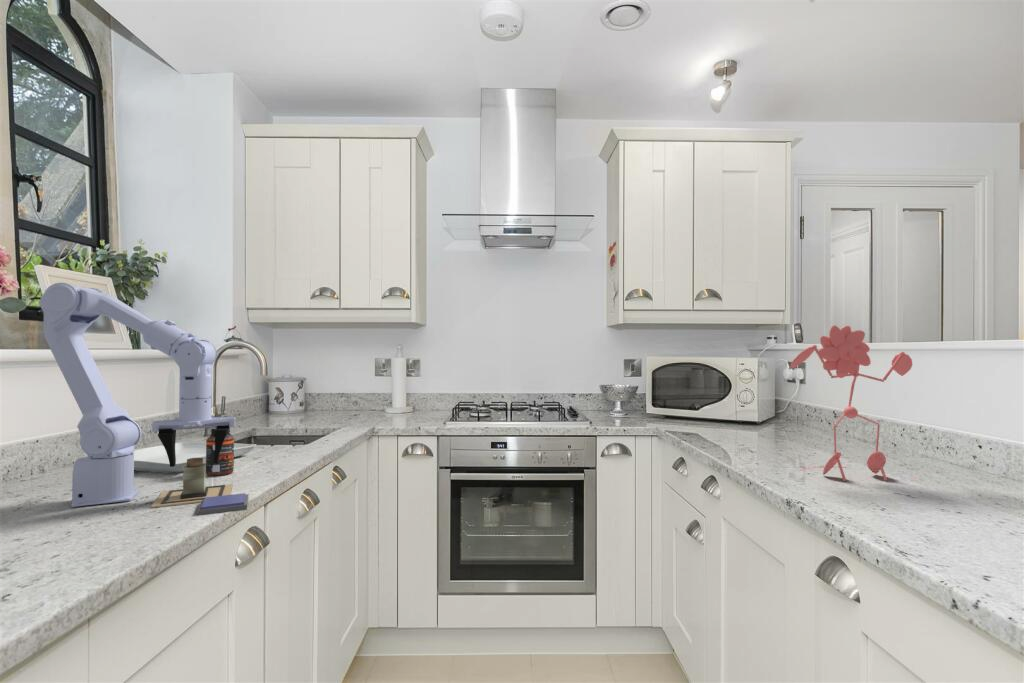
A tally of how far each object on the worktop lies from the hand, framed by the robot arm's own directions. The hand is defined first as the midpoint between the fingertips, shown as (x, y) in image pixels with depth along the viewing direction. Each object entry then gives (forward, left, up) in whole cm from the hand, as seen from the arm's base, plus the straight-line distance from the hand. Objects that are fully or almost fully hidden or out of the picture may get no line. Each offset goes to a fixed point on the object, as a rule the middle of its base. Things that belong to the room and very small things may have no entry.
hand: (194, 464), depth 106 cm
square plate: (-8, +40, -7) cm, 41 cm away
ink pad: (+6, -11, -7) cm, 14 cm away
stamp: (0, -1, -6) cm, 6 cm away
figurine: (+136, -49, -7) cm, 145 cm away
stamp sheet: (0, 0, -7) cm, 7 cm away
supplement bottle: (+3, +20, -7) cm, 21 cm away
